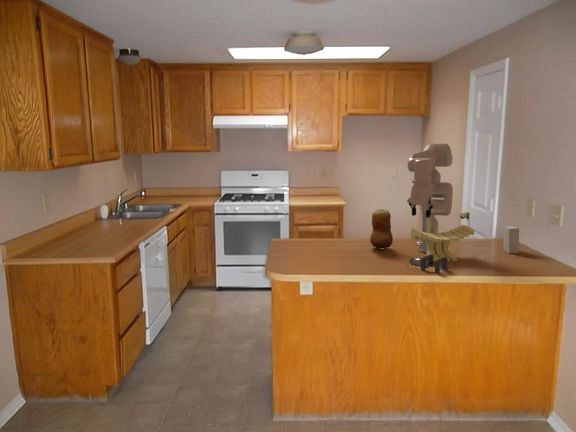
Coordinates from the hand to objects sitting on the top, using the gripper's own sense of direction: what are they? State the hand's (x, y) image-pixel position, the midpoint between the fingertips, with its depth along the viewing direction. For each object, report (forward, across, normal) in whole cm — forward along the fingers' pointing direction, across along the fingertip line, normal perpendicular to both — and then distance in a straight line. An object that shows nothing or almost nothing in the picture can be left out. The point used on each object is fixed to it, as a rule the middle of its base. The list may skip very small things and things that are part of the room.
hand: (420, 216), depth 241 cm
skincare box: (+28, +25, +58) cm, 69 cm away
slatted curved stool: (+28, +1, +21) cm, 35 cm away
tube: (+27, 0, -2) cm, 27 cm away
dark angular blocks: (+27, +13, -2) cm, 30 cm away
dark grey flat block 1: (+27, +5, -2) cm, 28 cm away
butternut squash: (+28, -37, +17) cm, 49 cm away
